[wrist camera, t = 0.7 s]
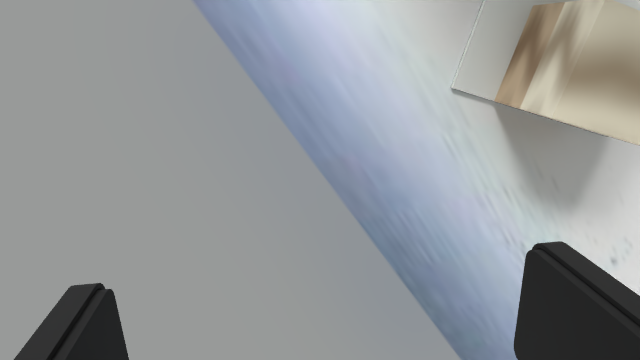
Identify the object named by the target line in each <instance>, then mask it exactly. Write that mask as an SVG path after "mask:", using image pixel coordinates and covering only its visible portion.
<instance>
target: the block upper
mask: <svg viewBox="0 0 640 360" xmlns="http://www.w3.org/2000/svg"><path fill="white" fill-rule="evenodd" d="M520 109H522V110H526V111H529V112H532V113H535V114H538V115H541V116H545V117H548V118H551V119H554V120H557V121H561V122H564V123H567V124H570V125H573V126H577V127H580V128H583V129H586V130H589V131H593V132H596V133H599V134H602V135H605V136H609V137H612V138H615V139H619V140H622V141H625V142H629V143H632V144H636V145H639V146H640V11H639V10H637V9H634V8H632V7H629V6H627V5H624V4H621V3H619V2H616V1H614V0H579V1H570V2H565V4H564V6H563V8H562V11H561V13H560V15H559V18H558V20H557V22H556V25H555V27H554V30H553V32H552V34H551V37H550V39H549V41H548V44H547V46H546V48H545V51H544V53H543V55H542V58H541V60H540V62H539V65H538V67H537V69H536V72H535V74H534V76H533V79H532V81H531V83H530V86H529V88H528V90H527V93H526V95H525V97H524V100H523V102H522V104H521V107H520Z"/></svg>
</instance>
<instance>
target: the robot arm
mask: <svg viewBox="0 0 640 360" xmlns="http://www.w3.org/2000/svg"><path fill="white" fill-rule="evenodd" d="M514 351H515V355H516V357H517V359H518V360H640V296H639V295H637V294H636V293H635V292H633V291H632V290H630V289H629V288H628V287H626V286H625V285H623V284H622V283H621V282H619V281H618V280H616V279H615V278H614V277H612V276H611V275H609V274H608V273H607V272H605V271H604V270H602V269H601V268H600V267H598V266H597V265H595V264H594V263H593V262H591V261H590V260H588V259H587V258H586V257H584V256H583V255H581V254H580V253H579V252H577V251H576V250H574V249H573V248H571V247H570V246H569V245H567V244H566V243H564V242H548V243H537V244H536V245H534V247H533V248H532V250H530V251H528V253H527V254H526V259H525V266H524V273H523V281H522V288H521V295H520V302H519V310H518V317H517V324H516V331H515V339H514ZM14 360H129V358H128V353H127V349H126V344H125V340H124V335H123V331H122V326H121V322H120V317H119V314H118V309H117V304H116V300H115V296H114V292H113V291H112V290H111V289H105V287H104V286H103V284H101V283H96V284H84V285H74V286H71V287H70V288H68V290H67V291H66V292H65V294H64V295H63V296H62V298H61V299H60V300H59V301H58V303H57V304H56V305H55V307H54V308H53V309H52V311H51V312H50V313H49V314H48V316H47V317H46V318H45V320H44V321H43V322H42V324H41V325H40V326H39V327H38V329H37V330H36V331H35V333H34V334H33V335H32V337H31V338H30V339H29V341H28V342H27V343H26V344H25V346H24V347H23V348H22V350H21V351H20V353H19V354H18V355H17V356H16V357H15V359H14Z"/></svg>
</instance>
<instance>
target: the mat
mask: <svg viewBox="0 0 640 360" xmlns="http://www.w3.org/2000/svg"><path fill="white" fill-rule="evenodd" d="M570 1H579V0H484V1H483V3H482V6H481V9H480V11H479V14H478V17H477V19H476V22H475V25H474V27H473V30H472V33H471V35H470V38H469V40H468V43H467V46H466V48H465V51H464V54H463V56H462V59H461V62H460V64H459V67H458V70H457V72H456V75H455V78H454V80H453V83H452V86H451V88H453V89H457V90H460V91H463V92H466V93H469V94H473V95H476V96H479V97H482V98H485V99H489V100H492V101H494V100H495V98H496V95H497V93H498V90H499V88H500V85H501V83H502V81H503V78H504V76H505V73H506V71H507V68H508V66H509V63H510V61H511V58H512V56H513V54H514V51H515V49H516V46H517V44H518V41H519V39H520V36H521V34H522V32H523V29H524V27H525V24H526V22H527V19H528V17H529V14H530V12H531V9H532V7H533V5H542V4H551V3H560V2H570ZM614 1H616V2H619V3H621V4H624V5H627V6H629V7H632V8H634V9H637V10H639V11H640V0H614ZM536 115H537V114H536ZM552 120H553V119H552ZM568 125H569V124H568ZM581 129H582V128H581ZM584 130H585V129H584ZM588 131H589V130H588ZM591 132H592V131H591ZM594 133H595V132H594ZM597 134H599V133H597ZM600 135H602V134H600ZM604 136H605V135H604ZM607 137H609V136H607Z"/></svg>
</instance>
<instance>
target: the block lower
mask: <svg viewBox="0 0 640 360" xmlns="http://www.w3.org/2000/svg"><path fill="white" fill-rule="evenodd" d="M564 4H565V2H560V3H551V4H542V5H533V7H532V9H531V12H530V14H529V17H528V19H527V22H526V24H525V27H524V29H523V32H522V34H521V36H520V39H519V41H518V44H517V46H516V49H515V51H514V54H513V56H512V58H511V61H510V63H509V66H508V68H507V71H506V73H505V76H504V78H503V81H502V83H501V85H500V88H499V90H498V93H497V95H496V98H495V100H494V101H495V102H498V103H501V104H505V105H508V106H511V107H514V108H517V109H520V107H521V104H522V102H523V100H524V97H525V95H526V93H527V90H528V88H529V86H530V83H531V81H532V79H533V76H534V74H535V72H536V69H537V67H538V65H539V62H540V60H541V58H542V55H543V53H544V51H545V48H546V46H547V44H548V41H549V39H550V37H551V34H552V32H553V30H554V27H555V25H556V22H557V20H558V18H559V15H560V13H561V11H562V8H563V6H564ZM521 110H522V109H521ZM524 111H526V110H524ZM527 112H529V111H527ZM530 113H532V112H530ZM533 114H535V113H533ZM537 115H538V114H537ZM540 116H541V115H540ZM543 117H545V116H543ZM546 118H548V117H546ZM549 119H551V118H549ZM553 120H554V119H553ZM556 121H557V120H556ZM559 122H561V121H559ZM562 123H564V122H562ZM565 124H567V123H565ZM569 125H570V124H569ZM572 126H573V125H572ZM575 127H577V126H575ZM578 128H580V127H578ZM582 129H583V128H582ZM585 130H586V129H585ZM592 132H593V131H592ZM595 133H596V132H595Z"/></svg>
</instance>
